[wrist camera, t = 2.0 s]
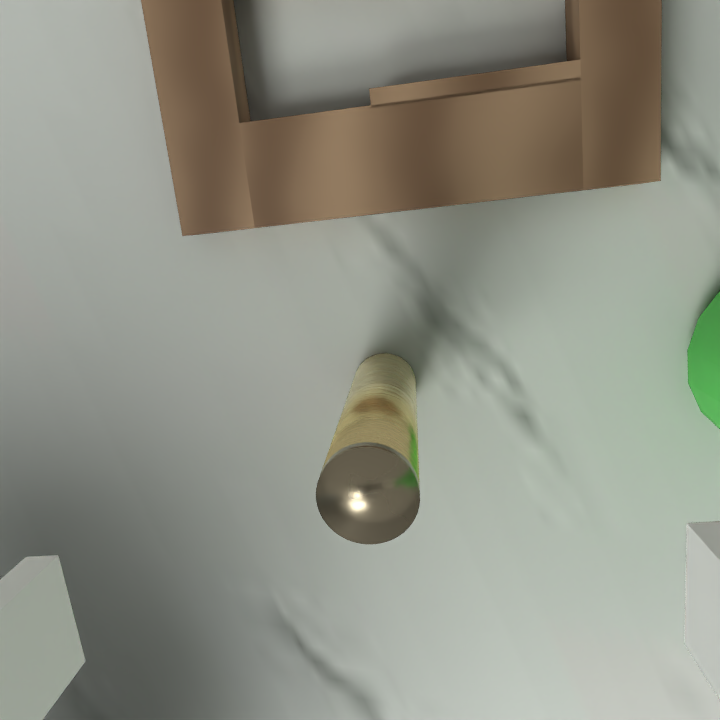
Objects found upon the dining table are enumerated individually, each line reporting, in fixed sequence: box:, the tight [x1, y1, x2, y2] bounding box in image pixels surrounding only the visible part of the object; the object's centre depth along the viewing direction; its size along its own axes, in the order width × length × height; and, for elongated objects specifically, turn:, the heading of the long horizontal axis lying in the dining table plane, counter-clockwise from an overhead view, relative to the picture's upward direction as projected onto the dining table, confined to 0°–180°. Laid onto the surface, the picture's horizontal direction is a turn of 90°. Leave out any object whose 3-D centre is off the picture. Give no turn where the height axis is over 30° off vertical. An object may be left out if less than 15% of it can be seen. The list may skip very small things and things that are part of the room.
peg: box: [316, 353, 420, 544], centre depth 23 cm, size 3×3×12 cm
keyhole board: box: [141, 0, 662, 236], centre depth 24 cm, size 20×14×2 cm
